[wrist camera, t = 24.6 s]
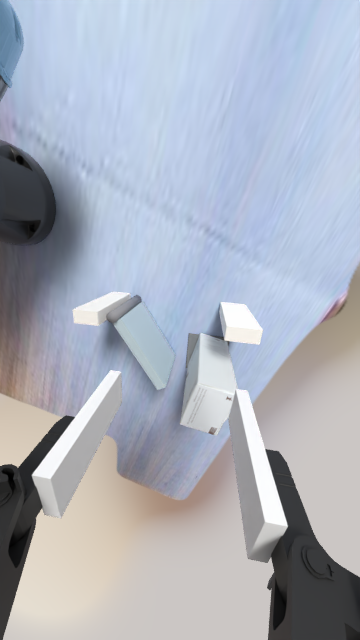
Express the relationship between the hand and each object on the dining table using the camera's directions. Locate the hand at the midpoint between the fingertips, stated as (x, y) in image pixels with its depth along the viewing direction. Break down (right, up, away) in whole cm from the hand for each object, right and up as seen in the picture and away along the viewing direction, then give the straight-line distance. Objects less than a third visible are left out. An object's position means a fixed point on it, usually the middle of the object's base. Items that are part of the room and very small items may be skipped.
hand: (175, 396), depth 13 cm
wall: (0, +8, +23) cm, 25 cm away
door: (-5, +3, +25) cm, 26 cm away
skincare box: (+6, -2, +26) cm, 27 cm away
